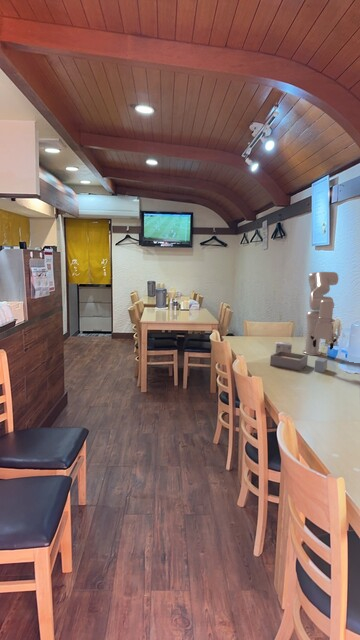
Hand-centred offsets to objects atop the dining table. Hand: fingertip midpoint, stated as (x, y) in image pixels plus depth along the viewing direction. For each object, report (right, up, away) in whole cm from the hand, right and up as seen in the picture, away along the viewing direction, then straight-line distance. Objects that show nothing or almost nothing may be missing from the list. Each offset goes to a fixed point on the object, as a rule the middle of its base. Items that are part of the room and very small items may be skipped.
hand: (322, 348), depth 229 cm
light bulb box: (-16, -9, +31) cm, 36 cm away
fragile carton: (0, -14, +3) cm, 14 cm away
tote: (-17, -12, +12) cm, 24 cm away
